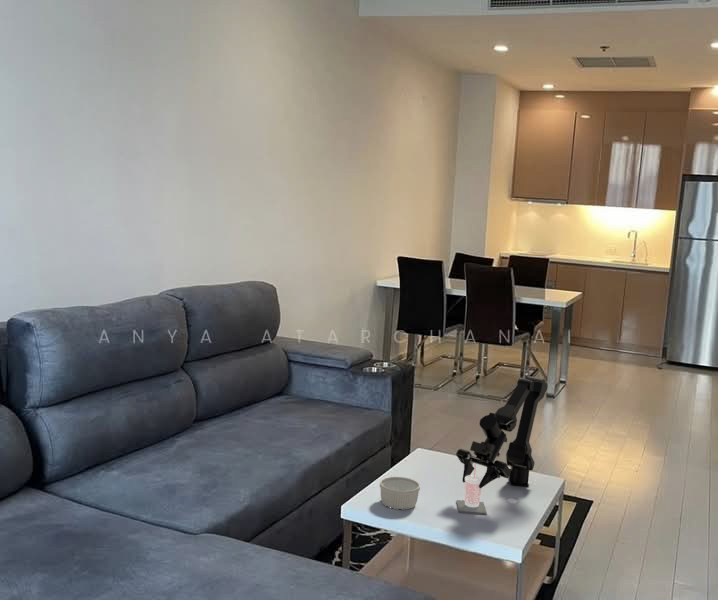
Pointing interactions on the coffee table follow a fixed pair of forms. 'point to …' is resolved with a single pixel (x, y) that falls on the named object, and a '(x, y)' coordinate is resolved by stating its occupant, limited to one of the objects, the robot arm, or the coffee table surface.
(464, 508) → the coaster
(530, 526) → the coffee table surface
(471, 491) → the beverage cup
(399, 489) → the ramekin
